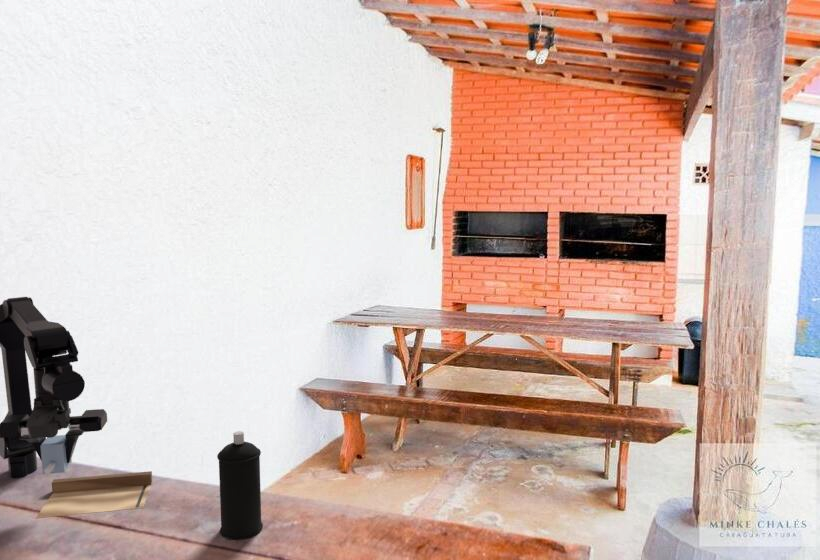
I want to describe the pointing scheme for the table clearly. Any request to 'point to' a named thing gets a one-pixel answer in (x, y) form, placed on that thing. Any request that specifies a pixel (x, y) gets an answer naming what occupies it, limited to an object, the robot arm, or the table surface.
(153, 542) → the table surface
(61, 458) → the block
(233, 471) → the aerosol can
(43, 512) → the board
